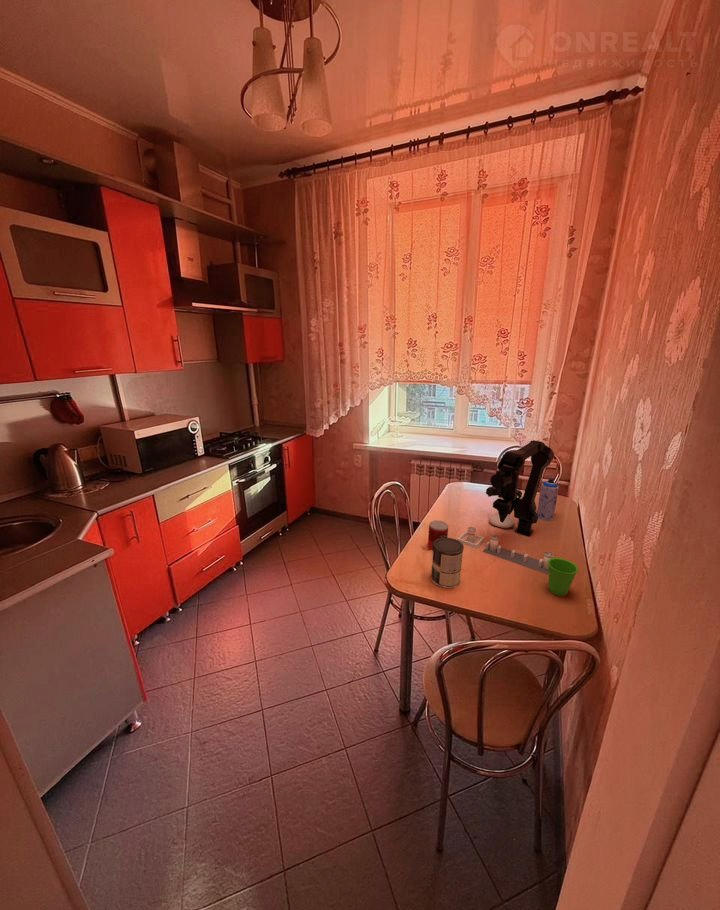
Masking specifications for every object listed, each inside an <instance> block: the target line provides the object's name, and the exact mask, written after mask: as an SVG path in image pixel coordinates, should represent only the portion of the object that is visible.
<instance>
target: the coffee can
mask: <svg viewBox="0 0 720 910" xmlns="http://www.w3.org/2000/svg"><path fill="white" fill-rule="evenodd" d="M464 549H465V547H464V544H462V543H461V542H460V541H458V540H457V538H456V539H455V538H452V537H447V538H438V539H436V540H435V541H434V543H433V550H432V562H431V575H430V579H431V580H430V581H432V583H433V584H434V585H436V586H437V587H440V588H442V587H443V588H442V589H454V588H457V587H458V586H459V585H460V584H461V575H462V573H461V572H462V565H463V564H462V562H463V553H464Z"/></svg>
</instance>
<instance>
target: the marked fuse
mask: <svg viewBox="0 0 720 910" xmlns="http://www.w3.org/2000/svg"><path fill="white" fill-rule="evenodd" d="M476 530H477V529H476V528H475V527H474V526H469V527H467V532H468V535H467V536H466V537H467V539H466V541H468V542H471V543H474V544H475V539H476V538H475V534H476Z"/></svg>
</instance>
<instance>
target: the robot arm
mask: <svg viewBox="0 0 720 910" xmlns="http://www.w3.org/2000/svg"><path fill="white" fill-rule="evenodd" d="M554 457H555V452H554V451H553V449H552V448H550V447H549V446H547V445H546V444H545V443H544V442H543V441H541V440H535V439H533V440H530V441H529V443H527V444H525V445H523V446H522V447H520V448H518V449H510V450H507V451H505V452H504V453H503V454H502V456H501V458H500V460H499V463H498V465H497V467H496V468H497V470H496V471H495V474H493V475H492V476H491V477H490V480H489V481H490V484H491V486H488V487H487V488H486V490H485V491H486V492H485V494H486V495H487V497H488V498H489V497H490V498H491V497H494V496H495V497H496V496H497V499H495V500H494V501H493V502H492V508H493V509H495V510H497V513H499V518H500V522H502V523H503V522H504V520H505V519H506V517H507V515H509V516H510V515H511V514H512V513H513V517H514V519H515V518H516V519H517V520H518V521H517V526H516V528H515V529H514V533H516V534H520V535H524V536H526V537H527V536H528V537H530V536H531V535H532V534H533V532H534V529H532V528H533V525H534V524H538V523H537V522H538V520H539V518H538V515H537V509H538V506H537V504H536V501H535V500H536V496H537V494H538V490H539V487H540V484H541V480H542V477H543V475H544V471H545V469H546V468H548V467H549V466H550V464H551V463H552V461H553V460H554ZM529 458H530V462H531V466H532V468H531V469H530V473H529V475H528V476H529V477H528V480H527V483H526V485H525V486H526V487H525V490H524V492H522V491H521V490H520V489H519V487H520V485H519V477H520V472H521V471H522V470H523V469H522V468H523V467H524V465H525V464H526V460H528V459H529ZM499 497H500V498H501V497H502V498H503V499H504V500H503V499H500V498H499Z"/></svg>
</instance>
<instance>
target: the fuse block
mask: <svg viewBox="0 0 720 910" xmlns="http://www.w3.org/2000/svg"><path fill="white" fill-rule="evenodd" d="M489 548H490V541H487V542H486V543H485V548H484V549H483V550H482V551H481V552H482V553H485V554H488V555H490V556H494V557H497V558H500V559H501V560H505V561H507V562H511V563H514V564H517V565H519V566H522V567H525V568H528V569H531V570H533V571H537V572H540V573H543V574H545V575H548V576H549V571H548V570H545V569H543V568H542V566H543V561H544V558H540V559H537V558H534V557H531V556H528V555H529V554H528V553H524V554H522V553H519V552H517V551H516V550H515V549H512V550H511V549H510V550H509V549H507V548H505V547H504V548H503V547H502V545H500V544H498V547H497V552H492V551H490V550H489Z"/></svg>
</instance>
